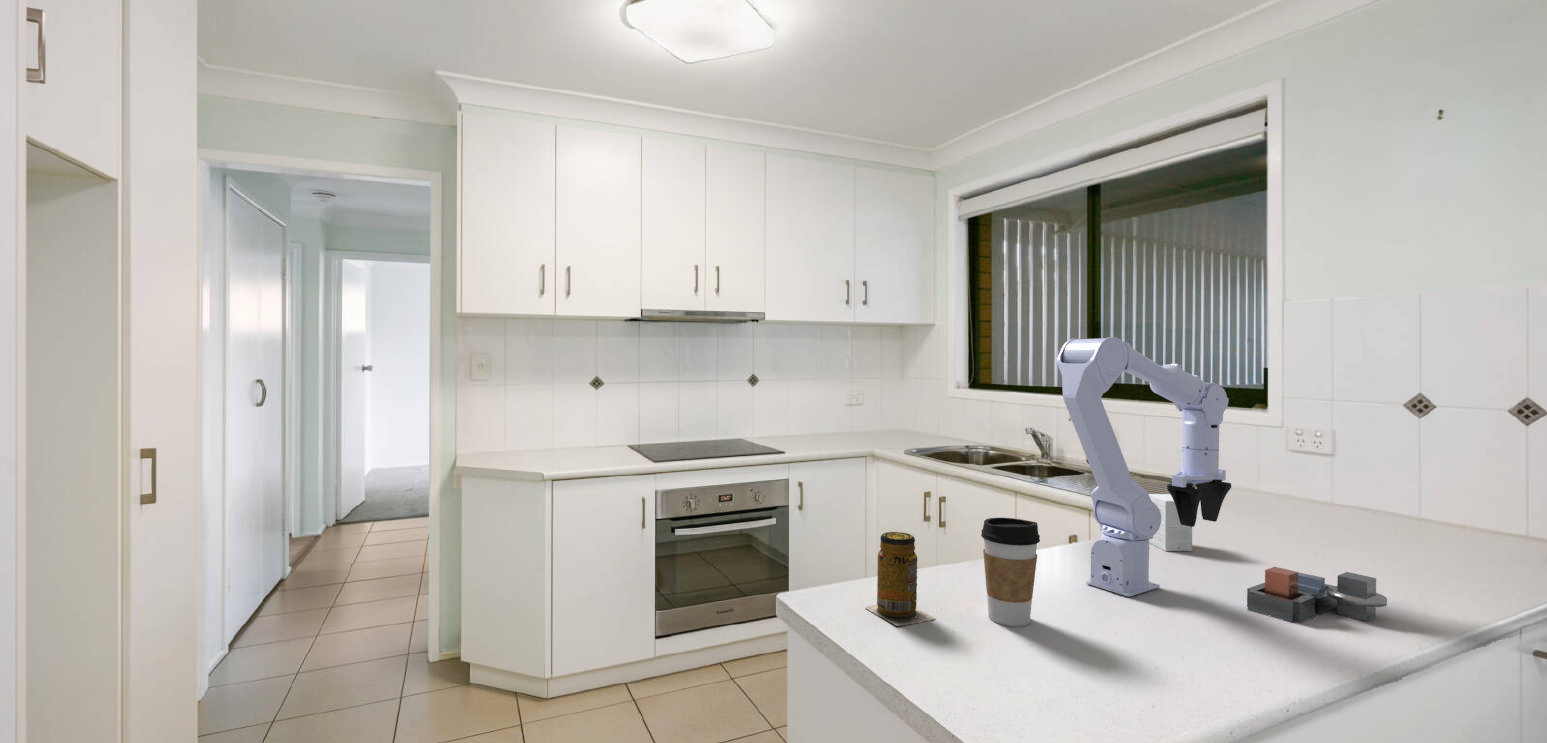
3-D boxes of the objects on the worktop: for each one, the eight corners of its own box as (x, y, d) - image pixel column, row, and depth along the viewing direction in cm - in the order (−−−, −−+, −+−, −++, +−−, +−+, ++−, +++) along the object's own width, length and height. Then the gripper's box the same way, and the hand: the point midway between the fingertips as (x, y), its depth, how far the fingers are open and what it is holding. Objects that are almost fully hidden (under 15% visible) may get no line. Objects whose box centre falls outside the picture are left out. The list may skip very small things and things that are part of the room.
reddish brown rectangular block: (1288, 617, 103) (1289, 575, 103) (1264, 610, 106) (1265, 569, 106) (1297, 613, 105) (1298, 572, 104) (1274, 607, 107) (1274, 566, 107)
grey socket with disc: (1352, 640, 95) (1353, 597, 95) (1238, 607, 107) (1239, 569, 107) (1397, 617, 103) (1398, 578, 103) (1286, 589, 116) (1287, 554, 116)
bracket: (1318, 609, 107) (1319, 581, 107) (1273, 598, 111) (1274, 571, 111) (1325, 604, 109) (1326, 576, 109) (1281, 593, 114) (1281, 567, 114)
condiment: (901, 601, 109) (902, 528, 109) (936, 620, 101) (936, 541, 101) (864, 608, 106) (864, 533, 105) (896, 628, 98) (897, 546, 98)
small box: (1192, 552, 138) (1193, 501, 138) (1165, 551, 138) (1165, 501, 138) (1170, 541, 146) (1171, 493, 146) (1144, 541, 146) (1145, 493, 146)
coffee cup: (1010, 634, 96) (1011, 530, 96) (968, 614, 103) (969, 517, 103) (1051, 624, 100) (1052, 523, 99) (1007, 605, 107) (1009, 512, 107)
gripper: (1202, 453, 114) (1201, 533, 115) (1244, 448, 122) (1243, 522, 122) (1160, 448, 120) (1159, 524, 121) (1203, 444, 128) (1201, 515, 128)
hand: (1198, 523), depth 122 cm, fingers open, 7 cm apart
